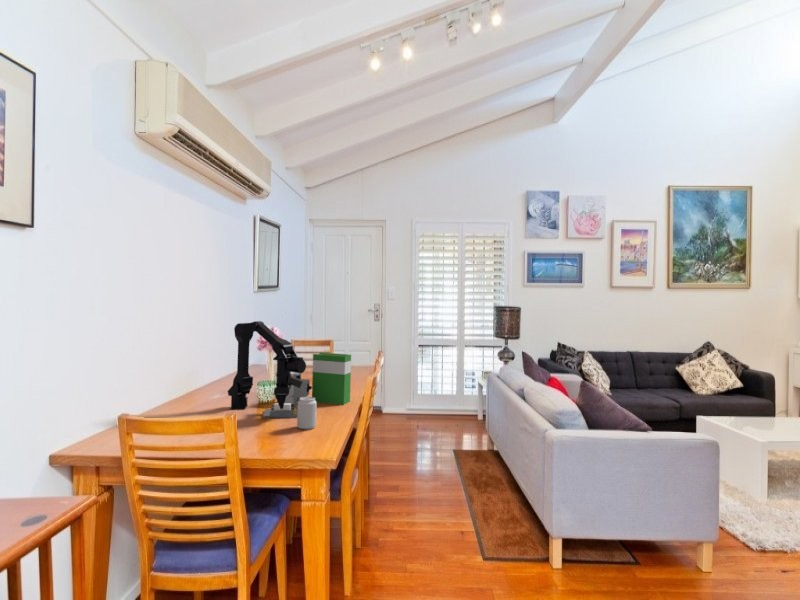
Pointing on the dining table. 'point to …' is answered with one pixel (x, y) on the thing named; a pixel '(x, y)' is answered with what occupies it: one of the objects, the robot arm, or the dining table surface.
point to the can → (306, 413)
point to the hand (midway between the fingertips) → (282, 406)
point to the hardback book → (331, 378)
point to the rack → (281, 413)
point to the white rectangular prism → (286, 406)
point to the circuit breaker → (298, 390)
